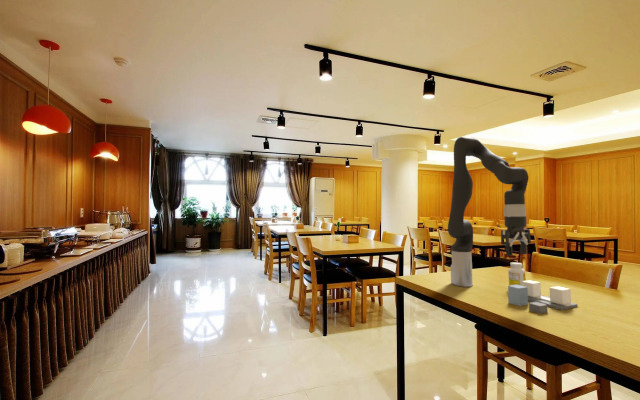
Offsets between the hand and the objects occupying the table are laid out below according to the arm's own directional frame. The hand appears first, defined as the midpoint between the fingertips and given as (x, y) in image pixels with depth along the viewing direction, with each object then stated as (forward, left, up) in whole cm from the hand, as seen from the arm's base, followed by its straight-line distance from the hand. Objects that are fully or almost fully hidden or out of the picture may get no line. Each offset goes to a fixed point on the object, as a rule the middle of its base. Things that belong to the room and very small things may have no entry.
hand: (516, 254), depth 118 cm
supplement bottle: (-13, +18, -20) cm, 30 cm away
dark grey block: (+9, -2, -20) cm, 22 cm away
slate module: (0, 0, -20) cm, 20 cm away
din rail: (+3, +12, -20) cm, 23 cm away
